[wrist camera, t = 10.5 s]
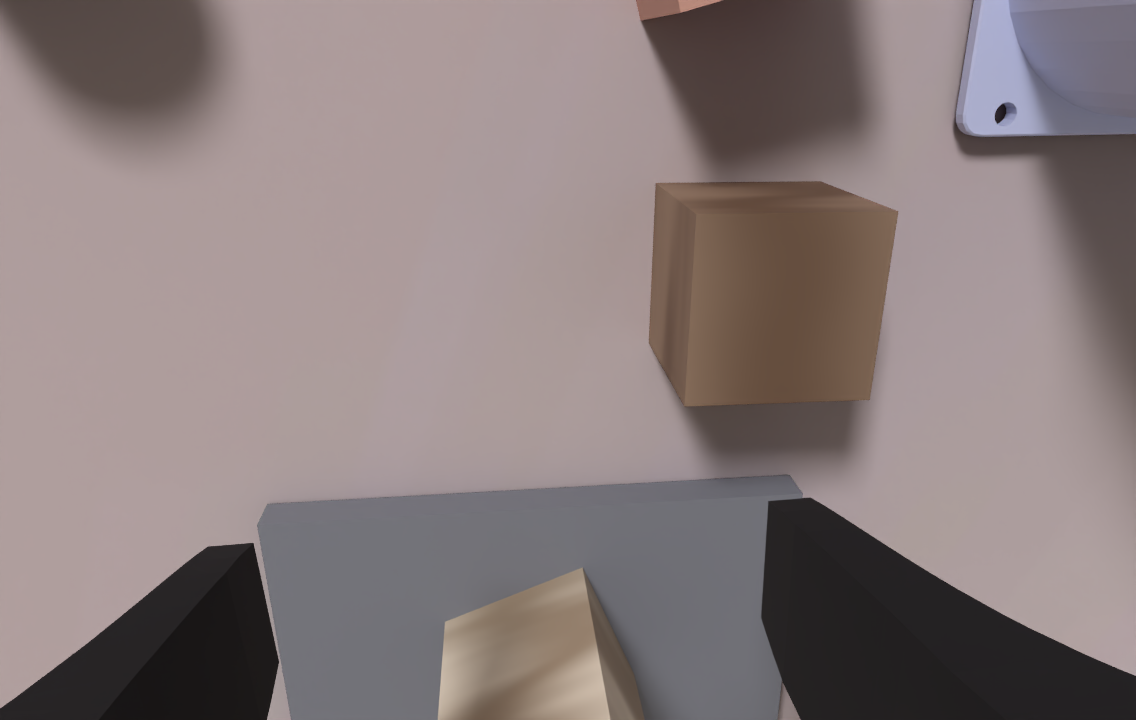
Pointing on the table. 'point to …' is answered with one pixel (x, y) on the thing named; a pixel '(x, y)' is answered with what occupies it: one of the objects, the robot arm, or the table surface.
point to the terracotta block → (668, 7)
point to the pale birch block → (537, 659)
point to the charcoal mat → (516, 563)
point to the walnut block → (768, 291)
